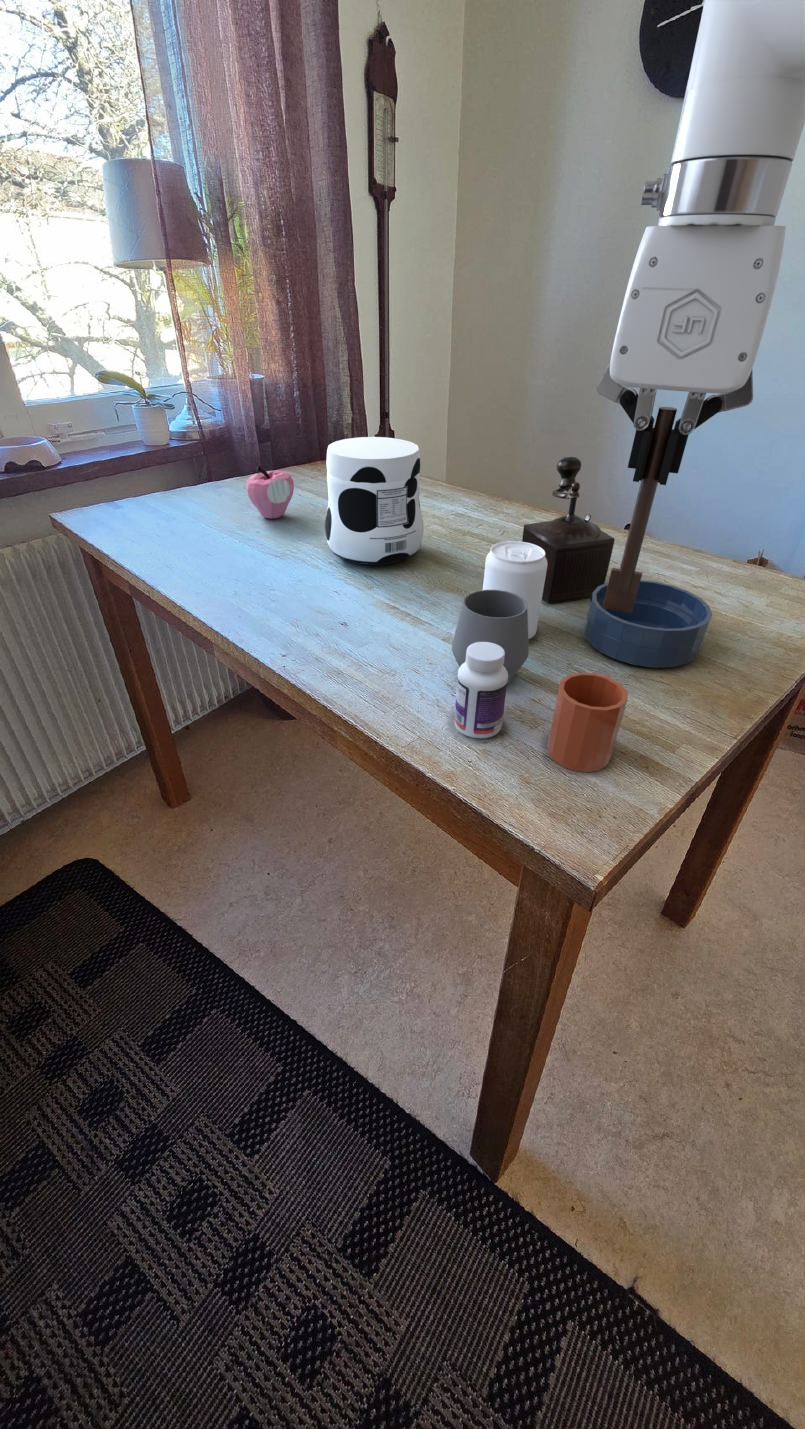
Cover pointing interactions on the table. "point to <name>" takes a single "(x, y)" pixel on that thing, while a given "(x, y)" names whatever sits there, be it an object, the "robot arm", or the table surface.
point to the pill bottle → (481, 691)
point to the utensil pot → (586, 721)
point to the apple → (270, 492)
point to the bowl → (650, 626)
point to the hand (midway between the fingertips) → (650, 478)
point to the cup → (494, 626)
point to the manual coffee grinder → (571, 545)
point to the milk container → (373, 500)
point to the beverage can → (518, 575)
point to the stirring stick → (640, 519)
